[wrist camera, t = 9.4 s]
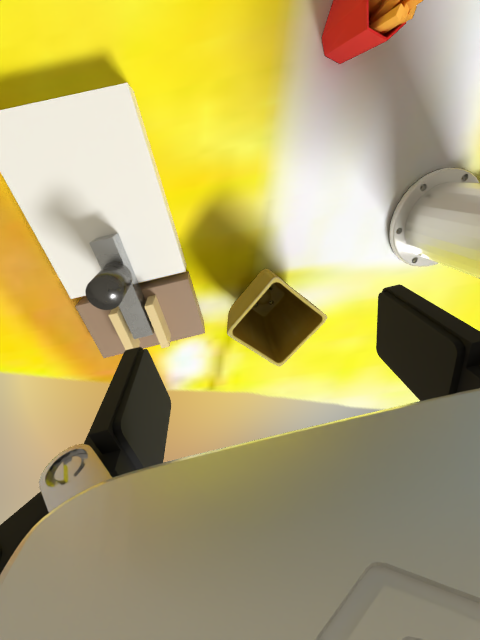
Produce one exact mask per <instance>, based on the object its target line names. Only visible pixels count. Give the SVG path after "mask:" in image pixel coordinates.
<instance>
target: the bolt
mask: <svg viewBox="0 0 480 640" xmlns="http://www.w3.org/2000/svg"><path fill="white" fill-rule="evenodd" d="M89 244H90V246H91V248H92V250H93V252H94V254H95V257H96V259H97V261H98V263H99V265H100V267H101V270H100V271H99V273H98V274H97V275H96V276H95V277H94V278H93V279H92V280H91V281H90V282H89V283H88V285H87V287H86V290H85V293H86V297H87V299H88V301H89V302H90V303H91V304H92V305H93V306H95V307H96V308H99V309H102V310H112V309H114V308H116V307H118V306H119V308H120V310H121V312H122V314H123V317H124V319H125V321H126V323H127V325H128V327H129V329H130V332H131V334H132V336H133V338H134V339H137V338H141V337H146V336H150V335H153V334H154V328H153V326H152V324H151V321H150V319H149V316H148V314H147V312H146V309H145V307H144V306H145V303H146V300H145V298H144V295H143V293H142V290H141V288H140V286H139V283H138V281H137V278H136V276H135V273H134V271H133V268H132V266H131V263H130V261H129V259H128V256H127V254H126V251H125V249H124V246H123V244H122V241H121V239H120V237H119V234H118V233H115V234H111V235H106V236H102V237H98V238H95V239H94V240H93V241H91V242H90V243H89Z"/></svg>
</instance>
